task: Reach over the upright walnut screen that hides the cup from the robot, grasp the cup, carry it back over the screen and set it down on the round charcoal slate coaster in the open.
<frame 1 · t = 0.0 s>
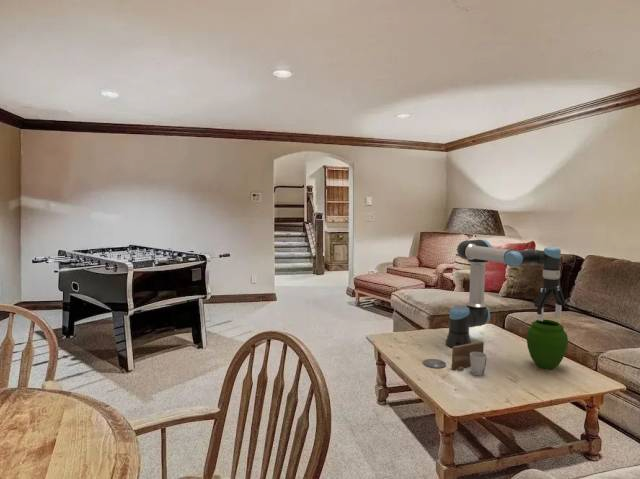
hand: (549, 318, 207), 28 cm above the table, fingers open, 13 cm apart
coaster: (434, 364, 220), on the table
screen: (467, 366, 217), on the table
cup: (477, 373, 208), on the table
vase: (545, 367, 216), on the table
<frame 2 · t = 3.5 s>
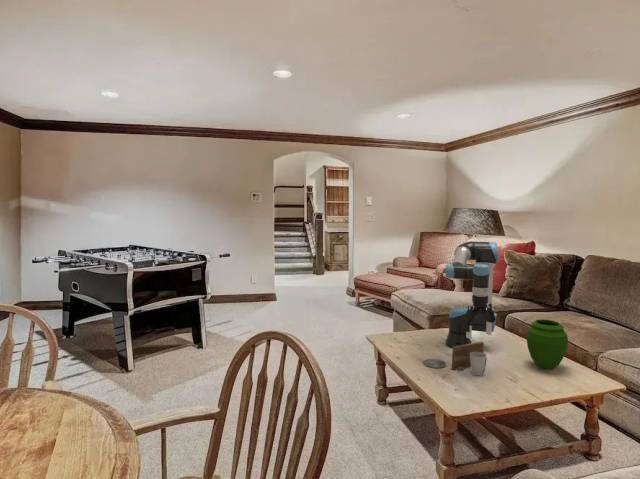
hand: (478, 336, 206), 20 cm above the table, fingers open, 13 cm apart
nothing on the table moved.
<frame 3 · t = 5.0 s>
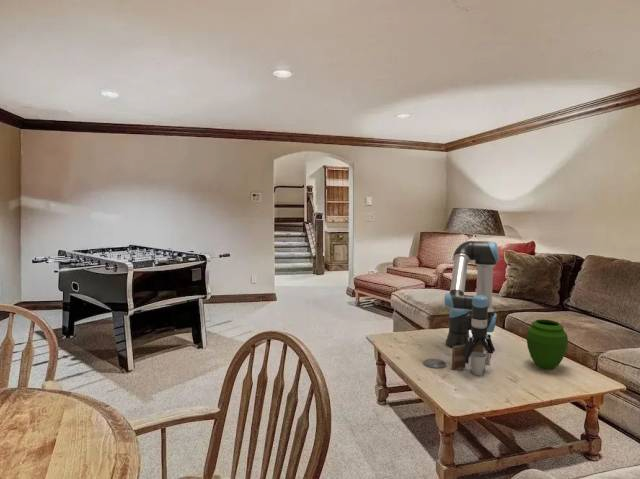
hand: (477, 367, 207), 3 cm above the table, fingers open, 13 cm apart
nothing on the table moved.
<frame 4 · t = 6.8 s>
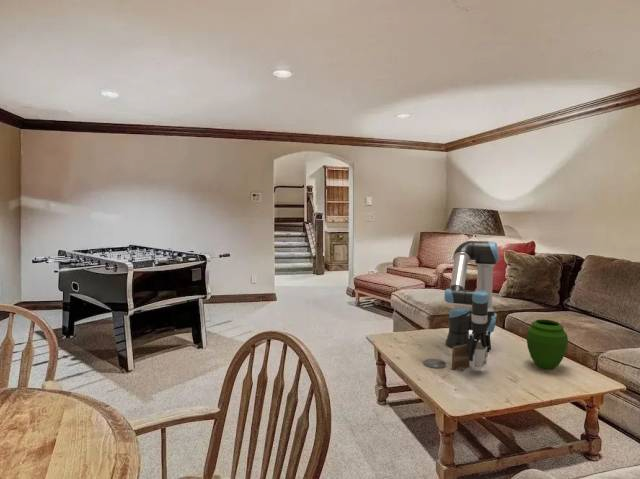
hand: (478, 364, 208), 4 cm above the table, fingers closed on cup, 8 cm apart
cup: (477, 365, 208), point 4 cm above the table, touching gripper
everything else where it was.
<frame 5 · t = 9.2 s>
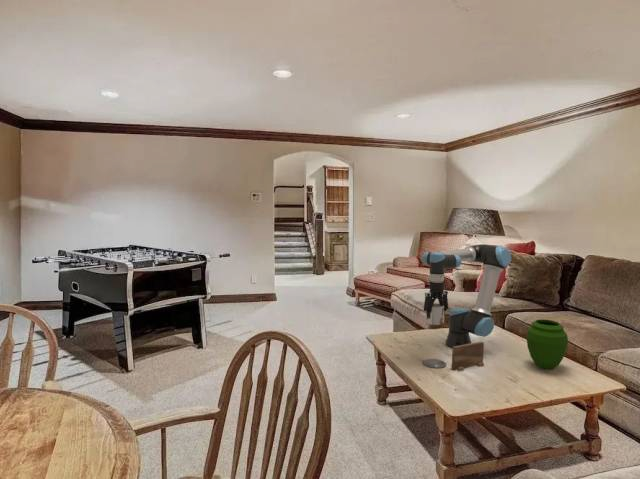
hand: (435, 322, 218), 23 cm above the table, fingers closed on cup, 8 cm apart
cup: (435, 323, 218), point 22 cm above the table, touching gripper
everything else where it was.
when the fingers open (2 cm above the table, at t = 12.0 s): cup drops 1 cm, resting on coaster.
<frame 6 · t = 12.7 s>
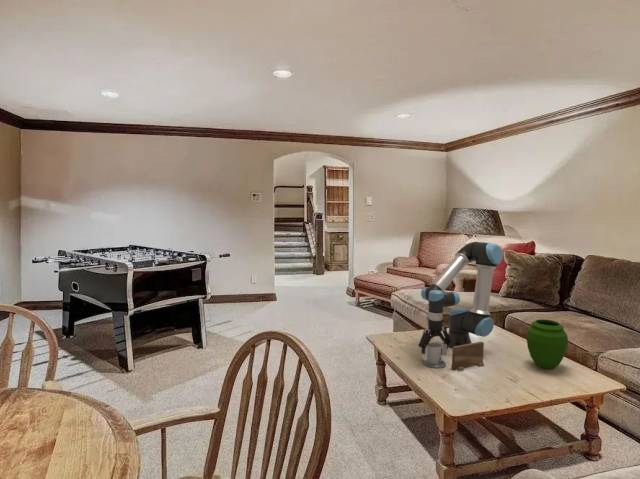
hand: (434, 357, 220), 4 cm above the table, fingers open, 13 cm apart
cup: (434, 363, 220), resting on coaster
everything else where it was.
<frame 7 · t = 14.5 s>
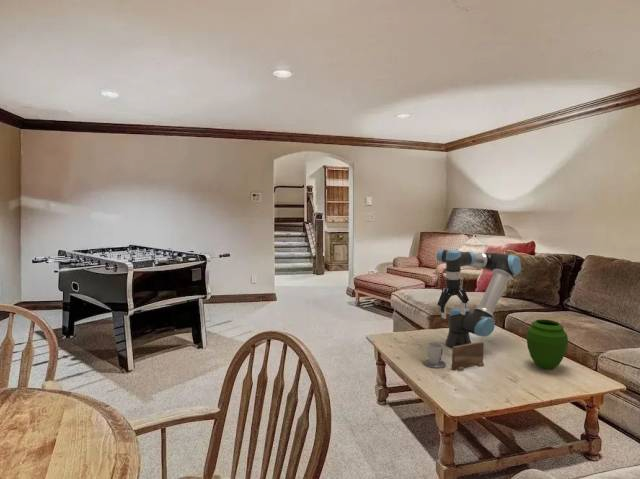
hand: (453, 316, 224), 25 cm above the table, fingers open, 13 cm apart
nothing on the table moved.
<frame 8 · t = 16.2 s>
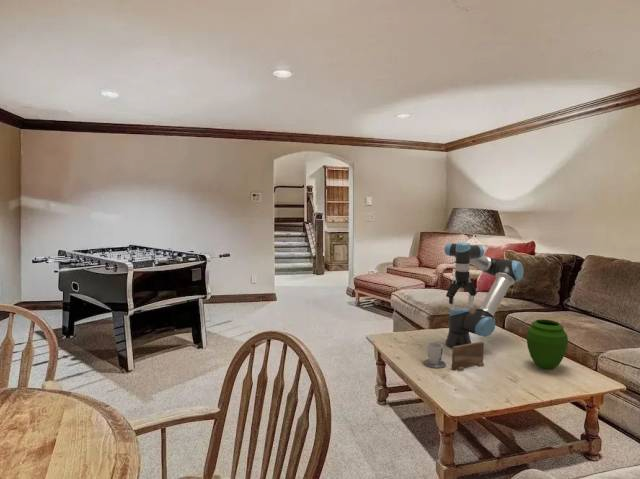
hand: (461, 308, 226), 29 cm above the table, fingers open, 13 cm apart
nothing on the table moved.
at the end: cup 0.3 cm from the coaster (horizontally); cup tilted 0°; cup resting on coaster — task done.
